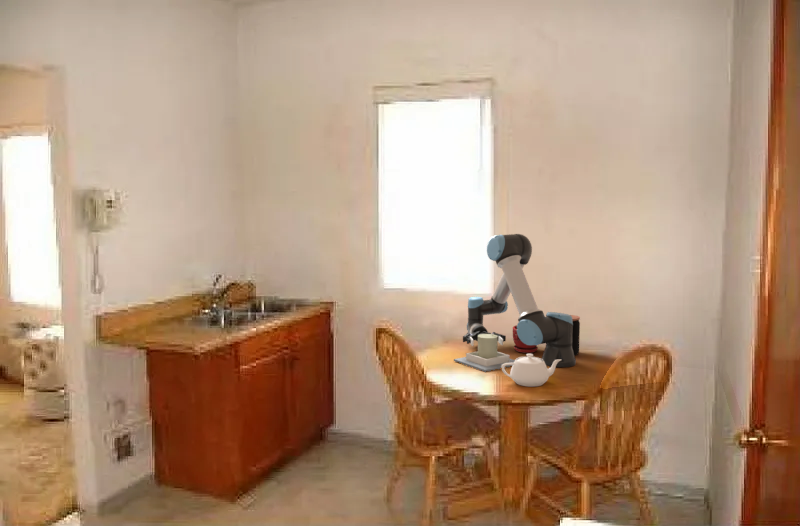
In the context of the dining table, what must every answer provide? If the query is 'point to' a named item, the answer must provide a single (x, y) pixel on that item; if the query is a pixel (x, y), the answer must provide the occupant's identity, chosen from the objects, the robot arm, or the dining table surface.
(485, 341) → the can
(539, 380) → the teapot
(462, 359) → the tray
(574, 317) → the coffee jar
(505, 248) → the robot arm
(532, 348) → the plant pot
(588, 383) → the dining table surface
